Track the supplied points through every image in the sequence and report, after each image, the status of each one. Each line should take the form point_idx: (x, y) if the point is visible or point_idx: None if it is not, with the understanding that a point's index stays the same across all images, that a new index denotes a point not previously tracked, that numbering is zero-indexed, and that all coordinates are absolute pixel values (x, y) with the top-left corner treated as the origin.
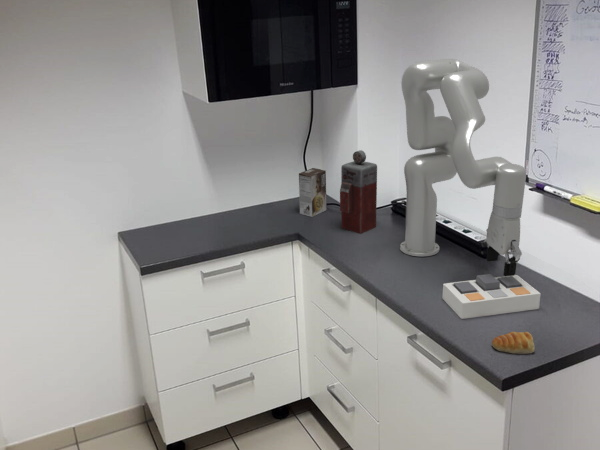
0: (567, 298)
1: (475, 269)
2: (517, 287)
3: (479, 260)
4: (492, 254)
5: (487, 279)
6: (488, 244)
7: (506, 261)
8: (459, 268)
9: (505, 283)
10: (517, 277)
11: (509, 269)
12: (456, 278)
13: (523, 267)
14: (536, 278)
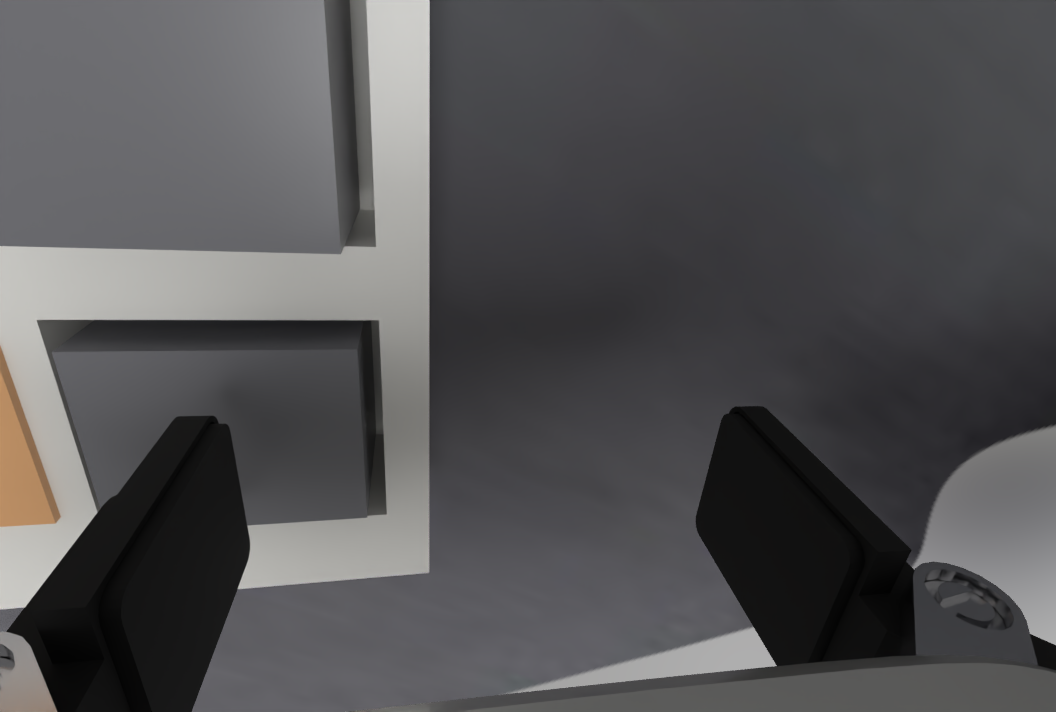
0: (197, 708)
1: (869, 335)
2: (68, 459)
3: (959, 432)
4: (764, 530)
5: (69, 50)
6: (982, 624)
7: (29, 661)
8: (964, 213)
9: (141, 361)
10: (361, 555)
11: (67, 558)
12: (831, 60)
13: (716, 632)
14: (545, 646)
